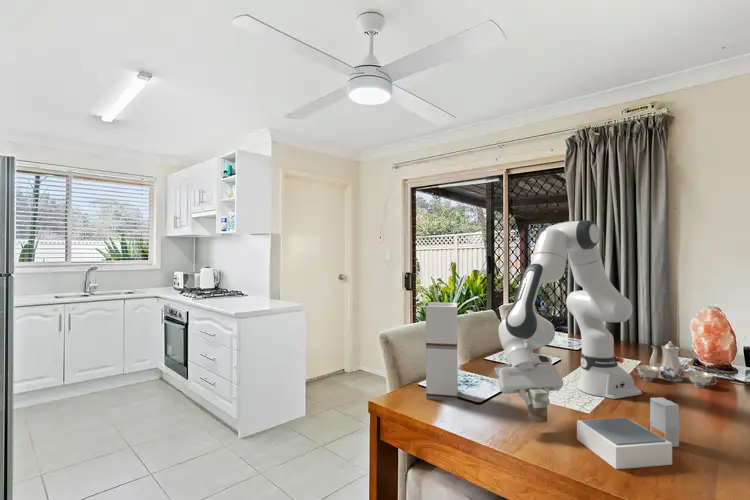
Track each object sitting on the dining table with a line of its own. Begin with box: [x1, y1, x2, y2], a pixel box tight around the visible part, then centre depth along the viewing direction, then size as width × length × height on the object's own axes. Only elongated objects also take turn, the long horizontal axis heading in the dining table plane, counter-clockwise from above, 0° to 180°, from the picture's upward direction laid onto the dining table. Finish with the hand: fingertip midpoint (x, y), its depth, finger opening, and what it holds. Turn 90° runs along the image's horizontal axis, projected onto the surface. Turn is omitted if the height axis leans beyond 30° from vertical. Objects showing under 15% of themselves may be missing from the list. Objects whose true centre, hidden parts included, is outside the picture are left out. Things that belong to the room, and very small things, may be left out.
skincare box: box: [649, 397, 680, 448], centre depth 116 cm, size 6×4×12 cm
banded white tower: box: [425, 301, 459, 402], centre depth 154 cm, size 11×11×35 cm
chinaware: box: [632, 340, 718, 389], centre depth 169 cm, size 28×17×17 cm, turn 67°
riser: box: [576, 416, 673, 470], centre depth 111 cm, size 16×16×6 cm
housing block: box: [527, 388, 548, 424], centre depth 123 cm, size 4×4×9 cm
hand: (538, 404), depth 123 cm, fingers closed on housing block, 4 cm apart
